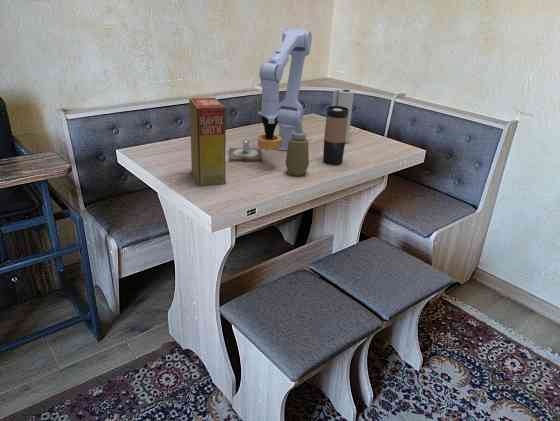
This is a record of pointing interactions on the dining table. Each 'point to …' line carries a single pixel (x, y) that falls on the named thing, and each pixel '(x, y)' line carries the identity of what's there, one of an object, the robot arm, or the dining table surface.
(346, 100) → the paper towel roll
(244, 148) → the steel shaft
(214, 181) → the food packaging
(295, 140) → the squeeze bottle
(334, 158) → the travel mug
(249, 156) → the walnut base plate
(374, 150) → the dining table surface
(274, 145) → the wooden ring
